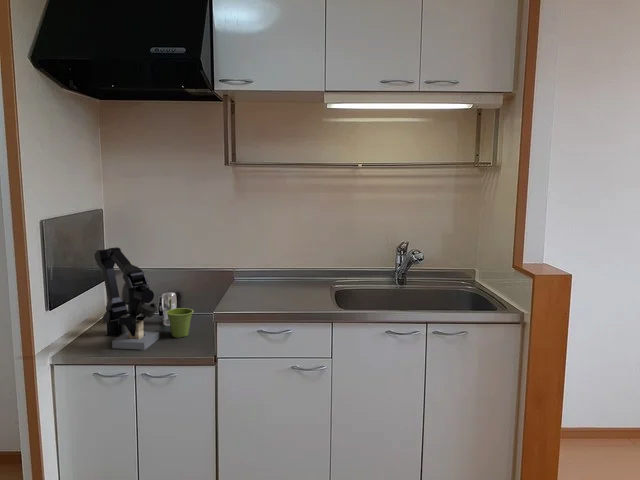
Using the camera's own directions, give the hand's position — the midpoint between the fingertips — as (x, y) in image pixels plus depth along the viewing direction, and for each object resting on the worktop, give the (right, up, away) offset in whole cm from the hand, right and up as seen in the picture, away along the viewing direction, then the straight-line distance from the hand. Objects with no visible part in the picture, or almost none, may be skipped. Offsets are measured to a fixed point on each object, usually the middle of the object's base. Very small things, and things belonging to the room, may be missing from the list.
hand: (136, 334), depth 201 cm
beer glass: (+6, -1, +28) cm, 28 cm away
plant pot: (+16, -3, +12) cm, 20 cm away
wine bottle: (-13, 0, +29) cm, 32 cm away
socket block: (0, -4, +1) cm, 4 cm away
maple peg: (0, -3, 0) cm, 2 cm away
